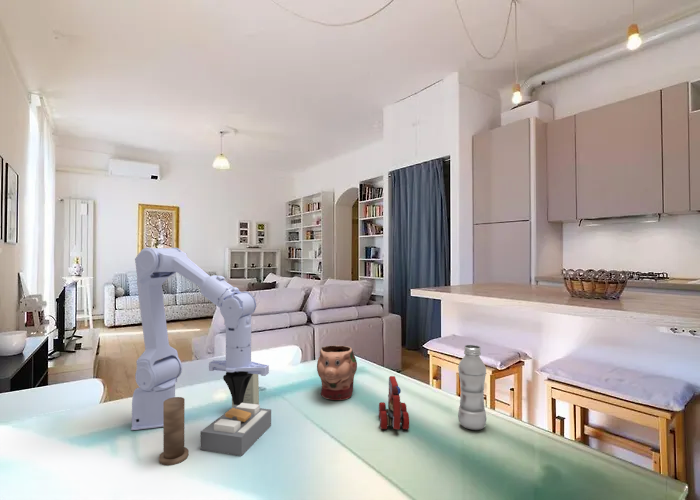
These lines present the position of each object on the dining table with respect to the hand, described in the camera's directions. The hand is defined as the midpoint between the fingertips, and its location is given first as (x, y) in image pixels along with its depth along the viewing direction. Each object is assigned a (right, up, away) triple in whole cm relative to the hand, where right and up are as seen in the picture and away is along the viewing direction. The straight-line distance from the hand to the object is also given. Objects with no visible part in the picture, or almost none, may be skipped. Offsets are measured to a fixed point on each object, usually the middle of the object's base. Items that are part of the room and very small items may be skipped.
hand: (238, 403), depth 87 cm
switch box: (0, -8, 0) cm, 8 cm away
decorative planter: (+22, -8, +27) cm, 36 cm away
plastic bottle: (+56, -8, +5) cm, 57 cm away
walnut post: (-11, -8, -9) cm, 16 cm away
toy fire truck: (+37, -8, +7) cm, 39 cm away
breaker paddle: (0, -3, 0) cm, 3 cm away
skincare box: (-2, -8, +13) cm, 16 cm away
